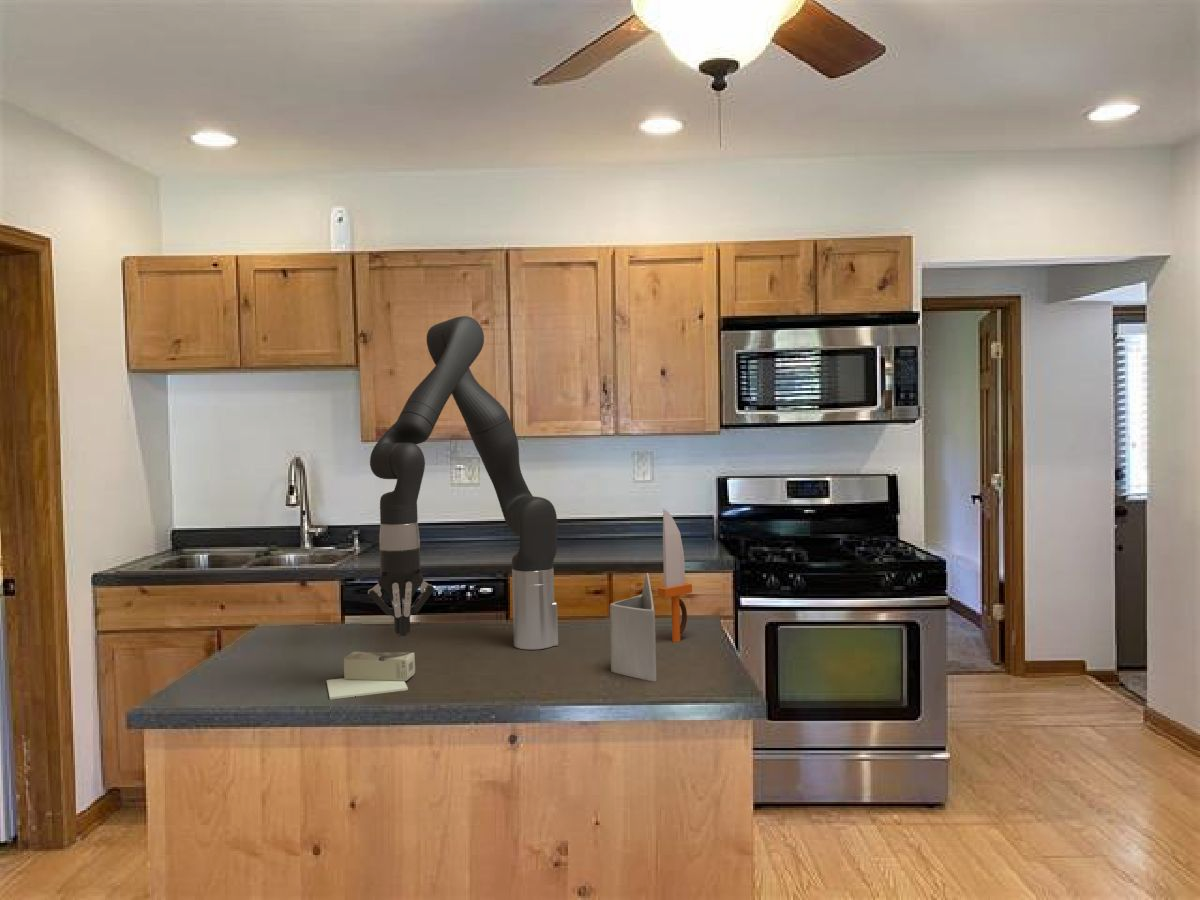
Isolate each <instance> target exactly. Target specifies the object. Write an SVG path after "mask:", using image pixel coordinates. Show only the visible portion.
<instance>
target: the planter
mask: <svg viewBox="0 0 1200 900" xmlns="http://www.w3.org/2000/svg"><path fill="white" fill-rule="evenodd" d="M644 579H645V580H644V584H643V587H642V592H641V594H639V595H637V596H633V597H629V598H626V599H621V600H618V601H615V602H611V603H610V604H609V635H610V670H611V673H615V674H617V675H622V676H625V677H631V678H636V679H640V680H643V681H648V682H653V683H654V682H655V683H656V682H657V655H656V654H657V653H656V652H657V650H656V649H657V648H656V645H657V644H656V643H657V642H656V613H655V606H654V605H655V604H654V599H653V598H654V597H653V592H652V587H651V581H650V580H651V579H650V574H649V573H648V572H646V574H645V578H644Z"/></svg>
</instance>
